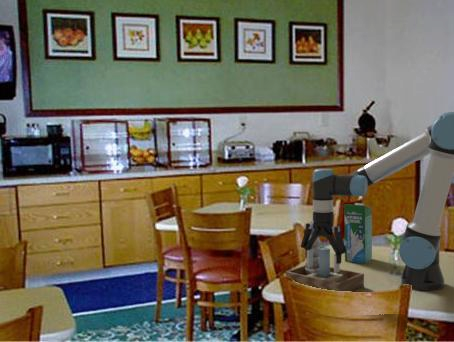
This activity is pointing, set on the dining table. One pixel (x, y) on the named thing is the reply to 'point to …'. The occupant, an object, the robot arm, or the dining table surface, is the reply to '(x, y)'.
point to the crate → (329, 279)
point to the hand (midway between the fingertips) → (323, 269)
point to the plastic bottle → (314, 257)
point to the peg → (324, 262)
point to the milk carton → (358, 233)
